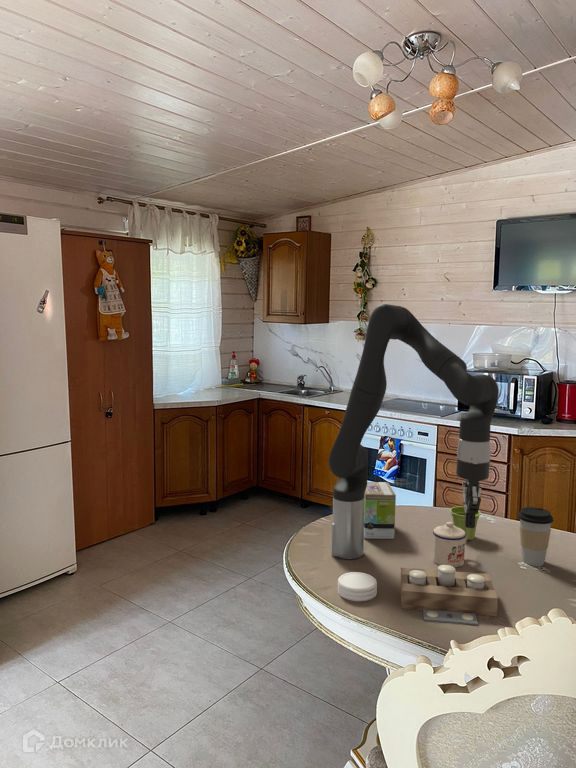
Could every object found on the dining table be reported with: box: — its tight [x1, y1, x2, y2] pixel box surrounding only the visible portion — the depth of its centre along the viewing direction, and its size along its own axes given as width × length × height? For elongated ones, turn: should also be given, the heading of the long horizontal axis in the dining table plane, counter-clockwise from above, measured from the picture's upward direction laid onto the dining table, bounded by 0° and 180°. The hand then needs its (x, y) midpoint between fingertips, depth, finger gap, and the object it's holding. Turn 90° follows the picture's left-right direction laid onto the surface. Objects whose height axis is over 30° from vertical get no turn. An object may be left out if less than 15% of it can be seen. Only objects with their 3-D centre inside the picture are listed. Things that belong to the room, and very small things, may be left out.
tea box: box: [364, 481, 397, 540], centre depth 186 cm, size 15×10×15 cm
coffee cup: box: [517, 506, 554, 567], centre depth 162 cm, size 9×9×15 cm
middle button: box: [437, 565, 457, 587], centre depth 140 cm, size 4×4×4 cm
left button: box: [409, 570, 426, 585], centre depth 141 cm, size 4×4×4 cm
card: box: [422, 609, 479, 626], centre depth 132 cm, size 12×4×1 cm, turn 80°
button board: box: [399, 567, 499, 617], centre depth 140 cm, size 22×13×4 cm, turn 80°
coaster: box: [337, 571, 378, 602], centre depth 144 cm, size 10×10×4 cm
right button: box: [467, 574, 485, 589], centre depth 139 cm, size 4×4×4 cm
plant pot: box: [449, 505, 482, 541], centre depth 180 cm, size 9×9×9 cm
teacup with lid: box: [432, 521, 468, 569], centre depth 163 cm, size 12×9×12 cm
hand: (469, 526), depth 138 cm, fingers closed
